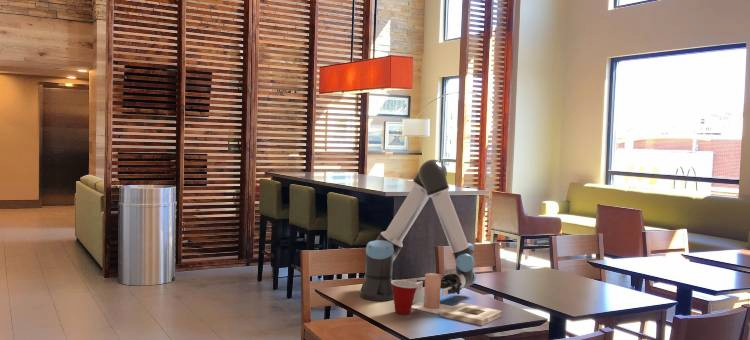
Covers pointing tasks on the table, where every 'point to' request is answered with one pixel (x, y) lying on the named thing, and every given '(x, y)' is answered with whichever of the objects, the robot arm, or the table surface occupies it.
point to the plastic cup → (403, 295)
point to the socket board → (482, 318)
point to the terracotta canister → (432, 290)
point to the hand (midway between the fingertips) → (428, 289)
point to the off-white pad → (421, 307)
